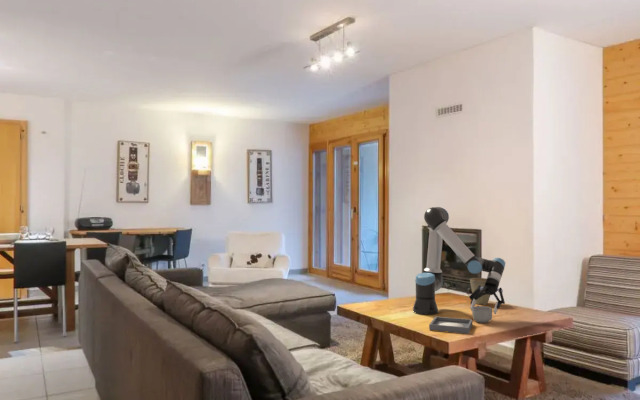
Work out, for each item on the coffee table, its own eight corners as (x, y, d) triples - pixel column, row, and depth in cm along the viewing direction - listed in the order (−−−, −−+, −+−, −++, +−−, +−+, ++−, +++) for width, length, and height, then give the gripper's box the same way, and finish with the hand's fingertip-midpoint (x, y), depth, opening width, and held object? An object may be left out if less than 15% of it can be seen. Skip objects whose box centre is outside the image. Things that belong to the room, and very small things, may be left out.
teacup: (493, 324, 273) (493, 310, 273) (473, 323, 275) (472, 309, 275) (490, 318, 287) (489, 304, 287) (470, 318, 289) (470, 304, 289)
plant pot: (480, 306, 321) (480, 281, 321) (465, 302, 334) (465, 278, 334) (498, 304, 327) (498, 280, 327) (482, 300, 340) (482, 277, 340)
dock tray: (429, 330, 262) (429, 324, 262) (435, 321, 280) (435, 316, 280) (468, 333, 254) (468, 327, 254) (472, 324, 272) (472, 319, 272)
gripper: (516, 287, 286) (506, 318, 274) (474, 282, 302) (464, 311, 291) (512, 279, 282) (503, 310, 270) (470, 275, 298) (460, 304, 287)
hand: (482, 311), depth 280 cm, fingers open, 13 cm apart
